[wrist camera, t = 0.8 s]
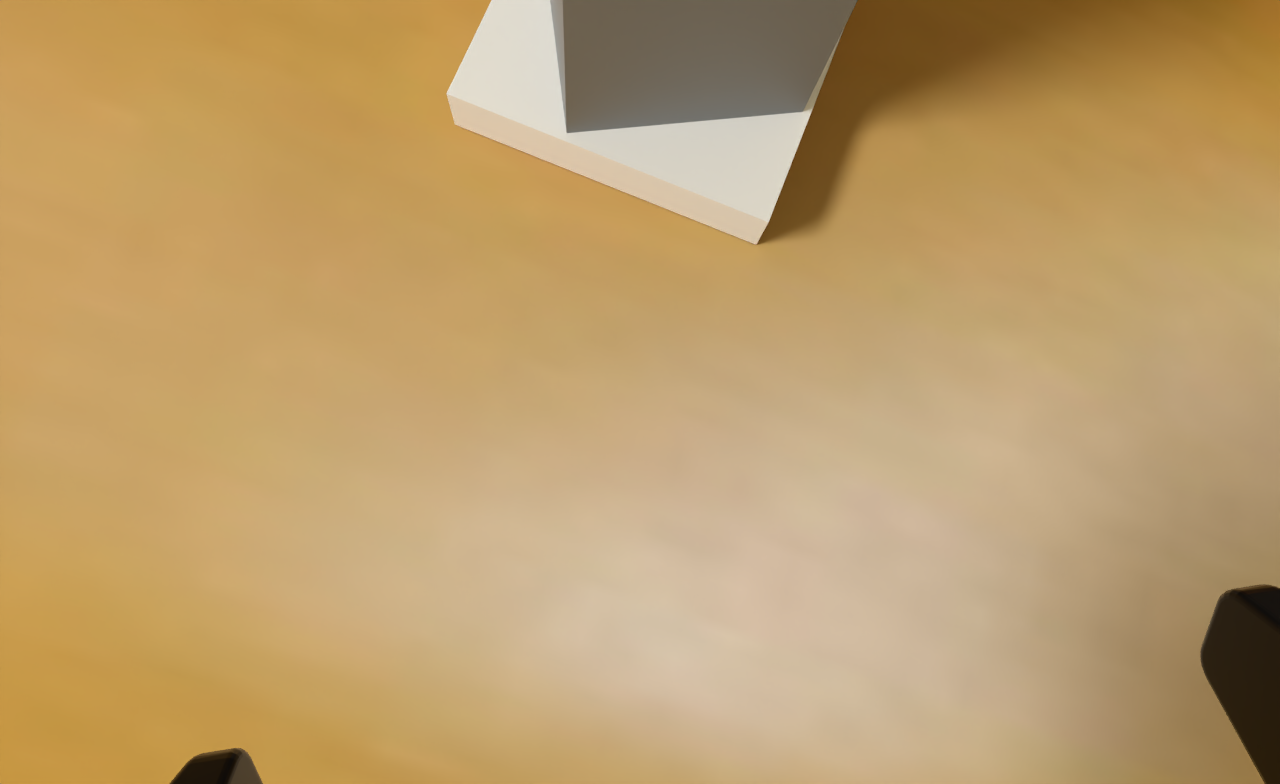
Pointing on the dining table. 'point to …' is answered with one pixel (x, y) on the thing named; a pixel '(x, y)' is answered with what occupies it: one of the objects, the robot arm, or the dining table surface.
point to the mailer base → (622, 130)
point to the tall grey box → (690, 58)
